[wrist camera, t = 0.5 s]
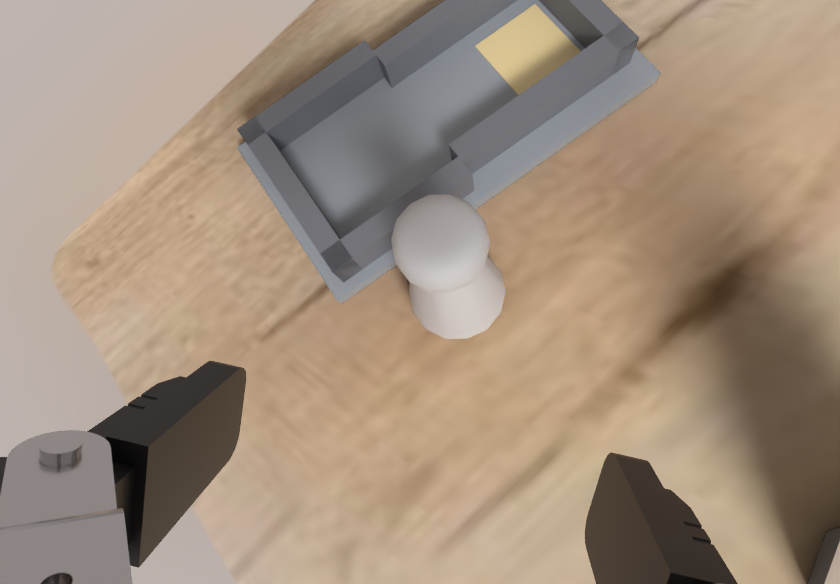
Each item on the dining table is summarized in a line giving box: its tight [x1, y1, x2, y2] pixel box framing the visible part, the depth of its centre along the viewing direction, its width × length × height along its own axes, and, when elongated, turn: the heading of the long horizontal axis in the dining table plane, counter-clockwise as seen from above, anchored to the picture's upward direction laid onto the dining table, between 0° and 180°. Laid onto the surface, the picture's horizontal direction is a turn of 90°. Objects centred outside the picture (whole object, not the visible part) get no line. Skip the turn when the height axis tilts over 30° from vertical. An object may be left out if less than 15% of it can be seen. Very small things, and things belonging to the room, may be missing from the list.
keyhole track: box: [237, 0, 661, 304], centre depth 37 cm, size 26×14×4 cm, turn 124°
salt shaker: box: [391, 194, 506, 339], centre depth 29 cm, size 6×6×13 cm
